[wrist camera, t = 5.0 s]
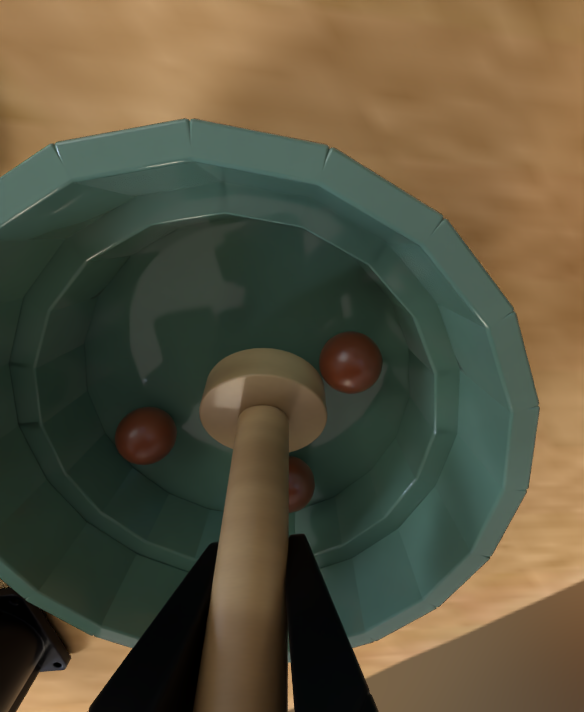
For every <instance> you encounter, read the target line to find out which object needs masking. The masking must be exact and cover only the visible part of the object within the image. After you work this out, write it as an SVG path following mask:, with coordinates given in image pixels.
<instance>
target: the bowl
mask: <svg viewBox="0 0 584 712" xmlns="http://www.w3.org/2000/svg"><path fill="white" fill-rule="evenodd" d="M513 310H514V308H513V306H512V305H511V304H510V302H509V301H508V300H507V298H506V297H505V296H504V294H503V293H502V292H501V290H500V289H499V288H498V286H497V285H496V284H495V282H494V281H493V280H492V278H491V277H490V276H489V274H488V273H487V272H486V270H485V269H484V268H483V266H482V265H481V264H480V262H479V261H478V260H477V258H476V257H475V256H474V254H473V253H472V252H471V250H470V249H469V247H468V246H467V245H466V243H465V242H464V241H463V239H462V238H461V237H460V235H459V234H458V233H457V231H456V230H455V229H454V227H453V226H452V225H451V223H450V222H449V221H448V220H447V219H445V218H443V215H442V214H441V213H439V212H437V211H436V210H434V209H433V208H431V207H429V206H428V205H426V204H425V203H423V202H421V201H420V200H418V199H417V198H415V197H413V196H412V195H410V194H409V193H407V192H405V191H404V190H402V189H400V188H399V187H397V186H396V185H394V184H392V183H391V182H389V181H388V180H386V179H384V178H383V177H381V176H380V175H378V174H376V173H375V172H373V171H372V170H370V169H368V168H367V167H365V166H363V165H362V164H360V163H359V162H357V161H355V160H354V159H352V158H351V157H349V156H347V155H346V154H344V153H343V152H341V151H339V150H338V149H336V148H333V147H331V148H330V149H329V146H328V145H326V144H322V143H317V142H312V141H307V140H302V139H297V138H292V137H287V136H282V135H276V134H271V133H266V132H261V131H256V130H251V129H246V128H241V127H236V126H231V125H226V124H221V123H215V122H210V121H205V120H200V119H195V118H194V119H191V120H189V119H186V118H184V119H178V120H173V121H167V122H162V123H157V124H151V125H146V126H140V127H135V128H129V129H124V130H118V131H113V132H107V133H102V134H96V135H91V136H86V137H80V138H75V139H69V140H64V141H58V142H56V143H55V144H53V143H52V144H49V145H47V146H46V147H44V148H43V149H41V150H40V151H39V152H37V153H36V154H34V155H33V156H31V157H30V158H28V159H27V160H25V161H24V162H22V163H21V164H19V165H18V166H16V167H15V168H13V169H12V170H10V171H9V172H7V173H6V174H4V175H3V176H2V177H0V579H1V580H3V581H4V582H5V583H6V584H7V585H8V586H10V587H11V588H12V589H13V590H14V591H15V592H17V593H18V594H19V595H20V596H21V597H22V598H25V600H26V601H28V602H29V603H31V604H33V605H35V606H37V607H39V608H41V609H42V610H44V611H46V612H48V613H50V614H52V615H54V616H56V617H57V618H59V619H61V620H63V621H65V622H67V623H69V624H70V625H72V626H74V627H76V628H78V629H80V630H82V631H83V632H85V633H87V634H89V635H91V636H93V635H94V636H95V637H98V638H101V639H104V640H108V641H111V642H114V643H117V644H121V645H124V646H127V647H130V648H133V647H134V646H135V644H136V643H137V642H138V640H139V639H140V638H141V636H142V635H143V634H144V632H145V631H146V630H147V628H148V627H149V625H150V624H151V623H152V621H153V620H154V619H155V617H156V616H157V615H158V613H159V612H160V610H161V609H162V608H163V606H164V605H165V604H166V602H167V601H168V600H169V598H170V597H171V595H172V594H173V593H174V591H175V590H176V589H177V587H178V586H179V585H180V583H181V582H182V581H183V579H184V578H185V576H186V575H187V574H188V572H189V571H190V570H191V568H192V567H193V566H194V564H195V563H196V561H197V560H198V559H199V557H200V556H201V555H202V553H203V552H204V551H205V549H206V548H207V546H208V545H209V544H210V543H212V542H219V538H220V532H221V525H222V519H223V512H224V506H225V499H226V493H227V486H228V480H229V473H230V467H231V460H232V454H233V449H231V448H229V447H227V446H225V445H223V444H221V443H219V442H218V441H216V440H215V439H214V438H213V437H211V436H210V435H209V434H208V432H207V431H206V430H205V429H204V427H203V425H202V423H201V420H200V415H199V407H200V404H201V400H202V396H203V393H204V389H205V385H206V382H207V378H208V376H209V373H210V372H211V370H212V369H213V367H214V366H215V365H216V364H217V363H218V362H220V361H221V360H222V359H224V358H225V357H227V356H229V355H231V354H233V353H236V352H239V351H242V350H246V349H253V348H272V349H278V350H283V351H287V352H290V353H292V354H295V355H297V356H299V357H301V358H303V359H304V360H306V361H307V362H309V363H310V364H311V365H312V366H313V367H314V368H315V369H316V370H317V372H318V373H319V374H320V376H321V378H322V380H323V383H324V388H325V397H326V407H327V422H326V425H325V428H324V430H323V431H322V433H321V434H320V436H319V437H318V438H317V439H316V440H314V441H313V442H312V443H310V444H309V445H307V446H305V447H303V448H301V449H298V450H296V451H292V452H289V456H294V457H297V458H300V459H301V460H303V461H304V462H305V463H306V464H307V465H308V466H309V467H310V469H311V470H312V473H313V475H314V480H315V489H314V493H313V496H312V498H311V500H310V502H309V503H308V504H307V505H306V506H305V507H304V508H303V509H301V510H299V511H297V512H294V513H289V536H290V535H292V534H302V533H303V534H305V535H306V537H307V540H308V542H309V545H310V547H311V549H312V552H313V554H314V557H315V559H316V562H317V564H318V566H319V569H320V571H321V574H322V576H323V579H324V581H325V583H326V586H327V588H328V591H329V593H330V596H331V598H332V600H333V603H334V605H335V608H336V610H337V613H338V615H339V617H340V620H341V622H342V625H343V627H344V629H345V632H346V634H347V637H348V639H349V642H350V644H351V646H352V648H354V647H358V646H361V645H365V644H369V643H372V642H374V641H377V640H379V639H381V638H383V637H385V636H387V635H389V634H390V633H392V632H394V631H396V630H398V629H400V628H401V627H403V626H405V625H407V624H409V623H411V622H413V621H414V620H416V619H418V618H420V617H422V616H424V615H425V614H427V613H429V612H431V611H433V610H435V609H436V608H437V607H439V606H440V605H441V604H442V603H444V602H445V601H446V600H447V599H448V598H449V597H450V596H451V595H452V594H453V593H454V592H455V591H456V590H457V589H458V588H459V587H460V586H462V585H463V584H464V583H465V582H466V581H467V580H468V579H469V578H470V577H471V576H472V575H473V574H474V573H475V572H476V571H477V570H478V569H479V568H481V567H482V566H483V565H484V564H485V563H486V562H487V561H488V560H489V559H490V556H492V554H493V553H494V551H495V549H496V547H497V545H498V543H499V542H500V540H501V538H502V536H503V534H504V533H505V531H506V529H507V527H508V525H509V523H510V522H511V520H512V518H513V516H514V514H515V513H516V511H517V509H518V507H519V505H520V503H521V502H522V500H523V498H524V496H525V494H526V492H527V490H526V489H528V488H529V480H530V473H531V466H532V459H533V452H534V445H535V438H536V431H537V424H538V417H539V410H540V408H539V401H538V397H537V393H536V389H535V385H534V381H533V377H532V373H531V369H530V365H529V362H528V358H527V354H526V350H525V346H524V342H523V338H522V334H521V330H520V326H519V323H518V319H517V315H516V313H515V312H514V311H513ZM348 331H354V332H359V333H362V334H365V335H367V336H368V337H370V338H371V339H372V340H373V341H374V342H375V343H376V344H377V346H378V347H379V349H380V352H381V355H382V360H383V364H382V370H381V374H380V376H379V378H378V380H377V381H376V382H375V383H374V385H372V386H371V387H370V388H369V389H367V390H365V391H363V392H360V393H355V394H347V393H342V392H339V391H337V390H335V389H333V388H332V387H331V386H329V385H328V384H327V383H326V381H325V380H324V378H323V376H322V374H321V372H320V367H319V357H320V353H321V351H322V349H323V347H324V345H325V344H326V342H327V341H328V340H329V339H330V338H332V337H333V336H335V335H337V334H339V333H342V332H348ZM142 407H156V408H159V409H162V410H164V411H165V412H167V413H168V414H169V415H170V416H171V417H172V419H173V420H174V422H175V425H176V429H177V437H176V442H175V444H174V446H173V448H172V450H171V451H170V452H169V454H168V455H167V456H165V457H164V458H163V459H161V460H160V461H158V462H156V463H153V464H149V465H137V464H133V463H131V462H129V461H127V460H125V459H124V458H123V457H122V456H121V455H120V454H119V452H118V450H117V448H116V445H115V433H116V429H117V427H118V425H119V423H120V422H121V420H122V419H123V418H124V417H125V416H126V415H127V414H128V413H130V412H132V411H133V410H136V409H138V408H142ZM288 662H291V659H290V647H289V634H288Z"/></svg>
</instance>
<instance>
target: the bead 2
mask: <svg viewBox="0 0 584 712" xmlns="http://www.w3.org/2000/svg"><path fill="white" fill-rule="evenodd" d="M314 489H315V480H314V475H313V473H312V470H311V469H310V467H309V466H308V465H307V464H306V463H305V462H304V461H303V460H301V459H300V458H297V457H294V456H289V513H294V512H297V511H299V510H301V509H303V508H304V507H305V506H306V505H307V504H308V503H309V502H310V500H311V498H312V496H313V493H314Z"/></svg>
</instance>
